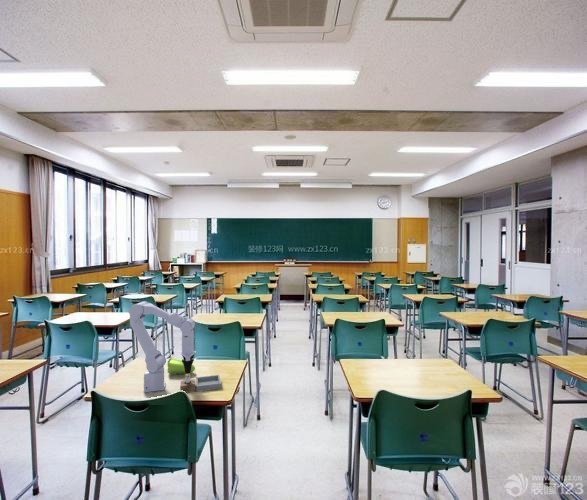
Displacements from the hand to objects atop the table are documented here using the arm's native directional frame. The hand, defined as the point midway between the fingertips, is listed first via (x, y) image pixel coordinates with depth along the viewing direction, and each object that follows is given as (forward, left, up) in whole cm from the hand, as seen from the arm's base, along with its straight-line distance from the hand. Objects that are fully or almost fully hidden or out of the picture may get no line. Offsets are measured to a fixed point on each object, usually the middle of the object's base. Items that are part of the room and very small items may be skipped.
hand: (187, 370), depth 168 cm
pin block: (0, 0, -9) cm, 9 cm away
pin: (0, 0, -9) cm, 9 cm away
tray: (+10, +1, -9) cm, 13 cm away
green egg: (-5, +24, -9) cm, 26 cm away
